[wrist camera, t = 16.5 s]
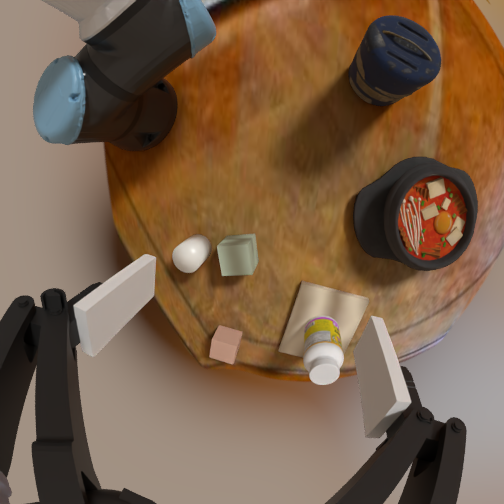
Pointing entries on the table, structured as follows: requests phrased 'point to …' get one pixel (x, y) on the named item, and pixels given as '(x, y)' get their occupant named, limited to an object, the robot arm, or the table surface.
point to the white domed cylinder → (192, 253)
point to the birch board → (322, 304)
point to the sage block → (238, 255)
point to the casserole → (417, 214)
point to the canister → (393, 61)
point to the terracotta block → (225, 344)
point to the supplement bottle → (322, 350)
